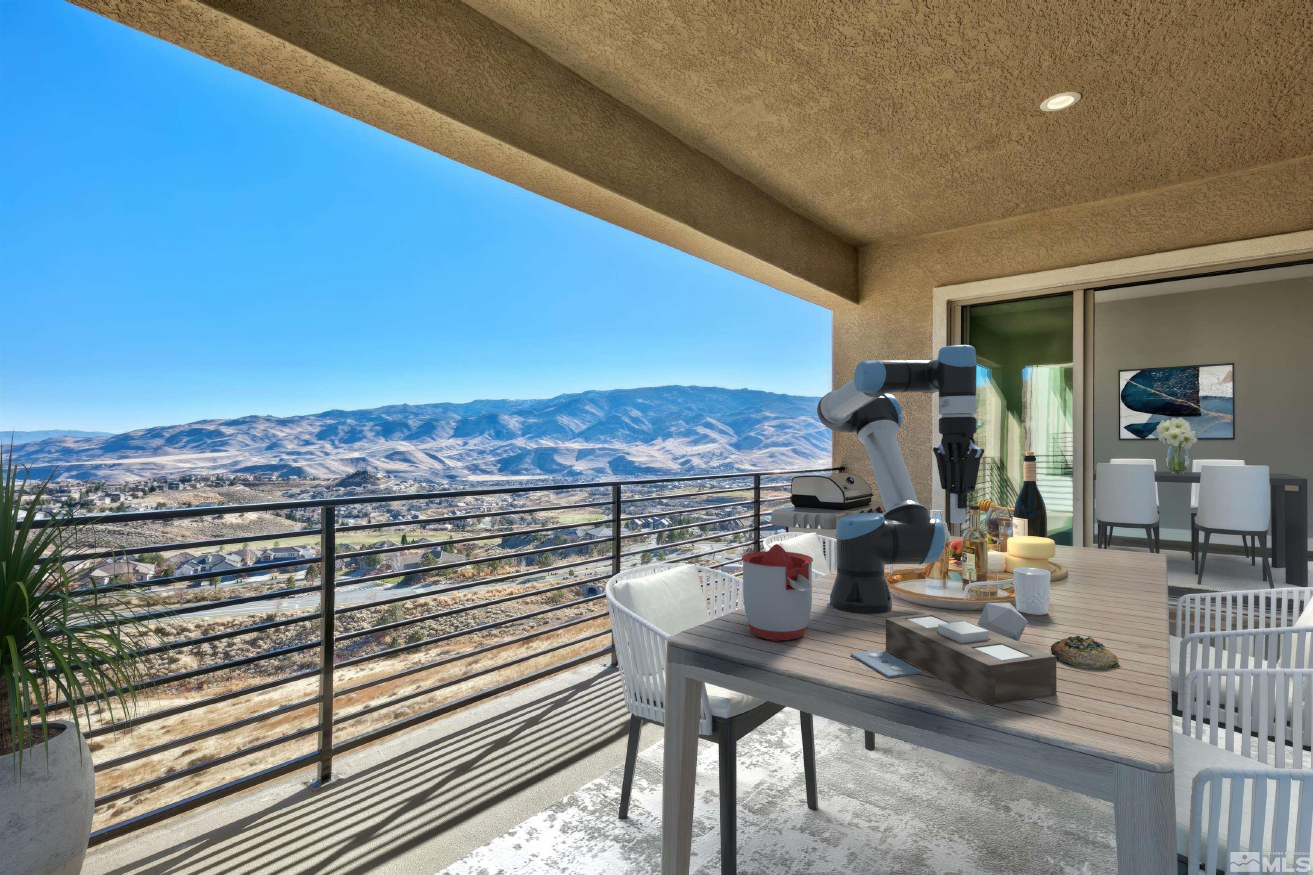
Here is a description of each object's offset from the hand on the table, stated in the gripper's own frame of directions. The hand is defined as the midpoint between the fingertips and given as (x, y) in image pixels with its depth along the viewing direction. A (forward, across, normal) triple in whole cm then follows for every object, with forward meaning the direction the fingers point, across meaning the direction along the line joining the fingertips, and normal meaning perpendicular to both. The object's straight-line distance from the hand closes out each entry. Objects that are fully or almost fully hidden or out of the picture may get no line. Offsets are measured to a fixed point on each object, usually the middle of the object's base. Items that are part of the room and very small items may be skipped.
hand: (957, 522), depth 139 cm
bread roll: (+25, +20, +11) cm, 34 cm away
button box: (+24, +18, -15) cm, 34 cm away
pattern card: (+24, +11, -27) cm, 38 cm away
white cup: (+25, -8, +29) cm, 39 cm away
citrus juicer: (+25, -11, -38) cm, 47 cm away
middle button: (+19, +18, -15) cm, 30 cm away
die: (+25, +7, +5) cm, 26 cm away
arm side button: (+21, +9, -15) cm, 27 cm away
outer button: (+21, +27, -15) cm, 37 cm away
